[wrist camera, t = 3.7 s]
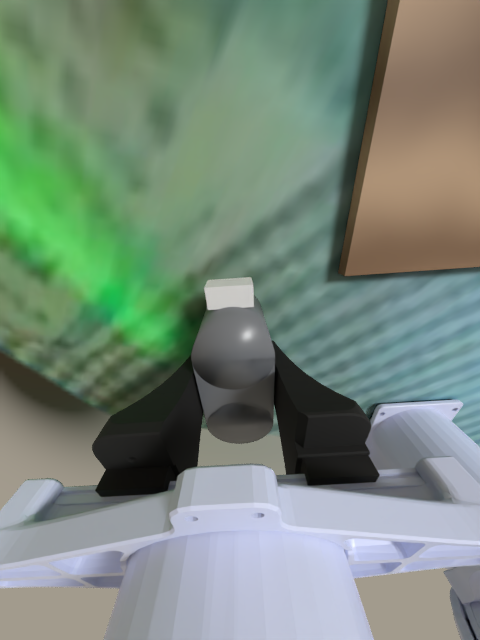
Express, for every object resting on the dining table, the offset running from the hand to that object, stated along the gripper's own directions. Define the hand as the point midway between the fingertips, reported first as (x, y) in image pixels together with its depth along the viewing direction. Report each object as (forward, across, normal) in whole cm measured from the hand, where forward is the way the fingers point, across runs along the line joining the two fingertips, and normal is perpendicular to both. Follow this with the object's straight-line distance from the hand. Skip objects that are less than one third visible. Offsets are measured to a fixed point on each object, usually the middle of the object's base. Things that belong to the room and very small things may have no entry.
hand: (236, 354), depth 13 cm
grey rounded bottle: (+1, 0, 0) cm, 1 cm away
